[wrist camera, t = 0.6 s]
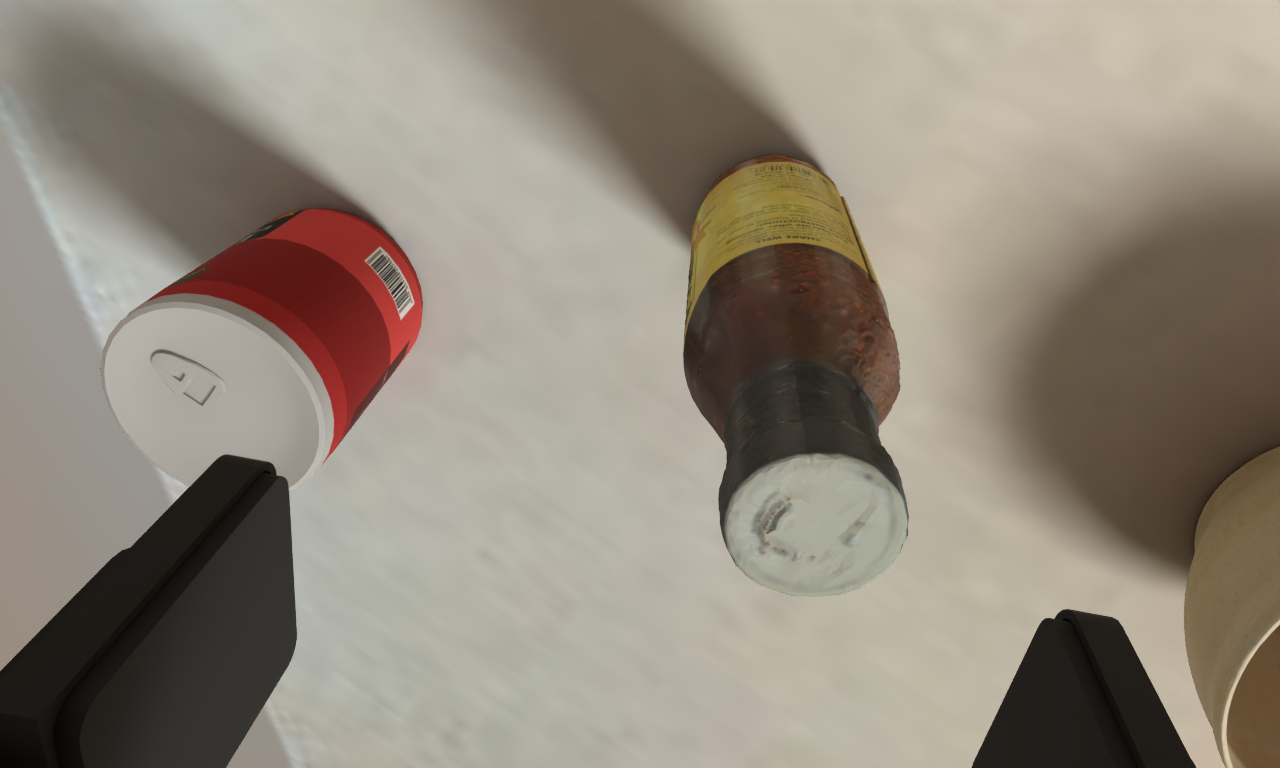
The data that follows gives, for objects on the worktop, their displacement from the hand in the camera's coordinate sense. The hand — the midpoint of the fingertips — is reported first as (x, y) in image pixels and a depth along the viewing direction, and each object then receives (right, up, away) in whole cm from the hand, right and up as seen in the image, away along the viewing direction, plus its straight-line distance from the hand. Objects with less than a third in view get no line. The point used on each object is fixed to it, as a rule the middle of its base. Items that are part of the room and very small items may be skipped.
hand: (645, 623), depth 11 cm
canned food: (-13, +7, +29) cm, 33 cm away
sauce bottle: (+5, +9, +26) cm, 28 cm away
